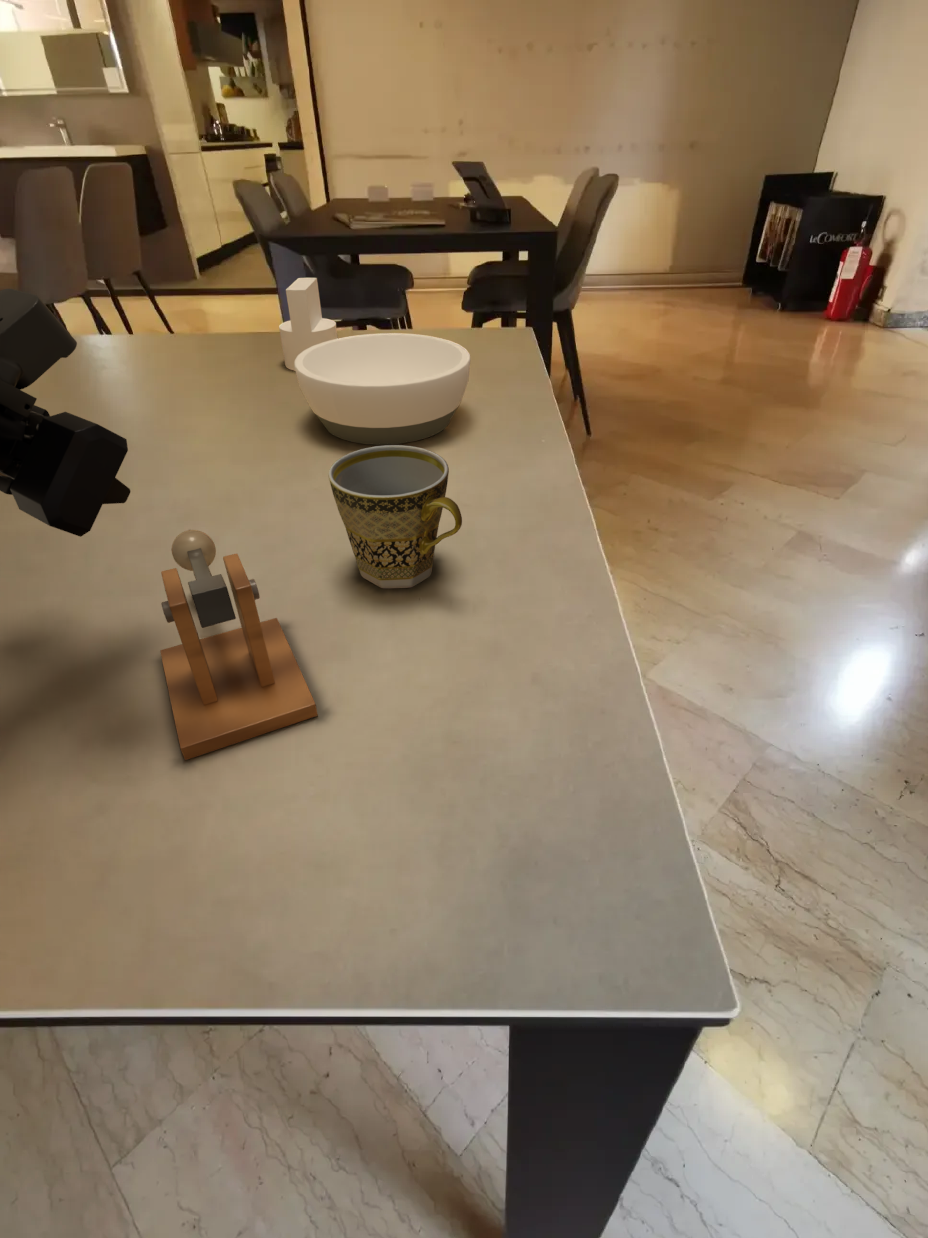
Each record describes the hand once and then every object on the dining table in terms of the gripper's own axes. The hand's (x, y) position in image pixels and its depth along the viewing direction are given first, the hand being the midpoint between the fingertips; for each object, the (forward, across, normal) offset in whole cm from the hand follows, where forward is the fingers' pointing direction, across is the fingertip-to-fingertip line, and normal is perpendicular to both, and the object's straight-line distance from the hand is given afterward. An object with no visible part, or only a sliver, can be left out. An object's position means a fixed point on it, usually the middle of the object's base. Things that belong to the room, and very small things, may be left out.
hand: (125, 495), depth 49 cm
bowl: (+39, +14, -23) cm, 48 cm away
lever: (+5, -6, +4) cm, 9 cm away
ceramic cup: (+20, -12, -4) cm, 24 cm away
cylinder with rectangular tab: (+48, +41, -32) cm, 70 cm away
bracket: (+7, -11, +10) cm, 16 cm away
